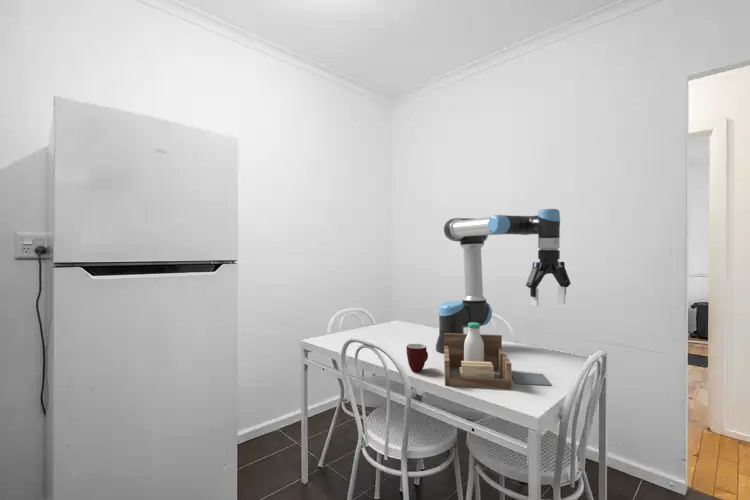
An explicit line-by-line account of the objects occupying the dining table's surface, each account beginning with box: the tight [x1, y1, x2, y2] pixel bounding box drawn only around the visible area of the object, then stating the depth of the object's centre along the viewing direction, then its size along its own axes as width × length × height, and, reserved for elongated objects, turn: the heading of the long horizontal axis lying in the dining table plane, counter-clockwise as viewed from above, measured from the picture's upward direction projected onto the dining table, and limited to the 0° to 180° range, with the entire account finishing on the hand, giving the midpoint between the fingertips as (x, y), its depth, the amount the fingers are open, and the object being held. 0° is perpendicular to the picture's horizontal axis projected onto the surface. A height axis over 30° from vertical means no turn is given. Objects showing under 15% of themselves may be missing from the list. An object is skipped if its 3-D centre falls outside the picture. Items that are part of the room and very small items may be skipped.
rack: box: [443, 333, 513, 390], centre depth 145 cm, size 23×23×14 cm
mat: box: [511, 371, 552, 387], centre depth 142 cm, size 12×12×1 cm
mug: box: [406, 343, 429, 373], centre depth 154 cm, size 10×8×10 cm
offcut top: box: [461, 361, 495, 374], centre depth 139 cm, size 6×11×2 cm, turn 81°
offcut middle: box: [458, 367, 495, 378], centre depth 139 cm, size 6×12×2 cm, turn 82°
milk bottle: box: [464, 322, 484, 362], centre depth 148 cm, size 8×8×20 cm
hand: (548, 304), depth 144 cm, fingers open, 13 cm apart
